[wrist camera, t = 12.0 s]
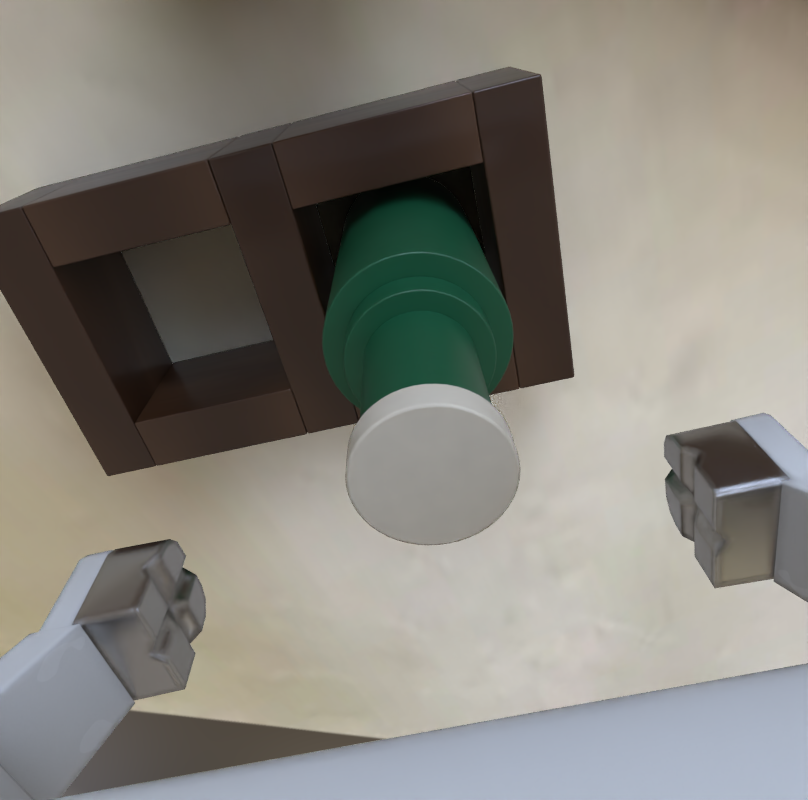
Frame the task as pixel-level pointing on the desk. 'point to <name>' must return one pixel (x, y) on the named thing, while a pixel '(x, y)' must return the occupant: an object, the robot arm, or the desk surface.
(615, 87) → the desk surface
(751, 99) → the desk surface
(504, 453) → the bottle
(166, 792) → the robot arm
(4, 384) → the desk surface
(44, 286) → the hole block
